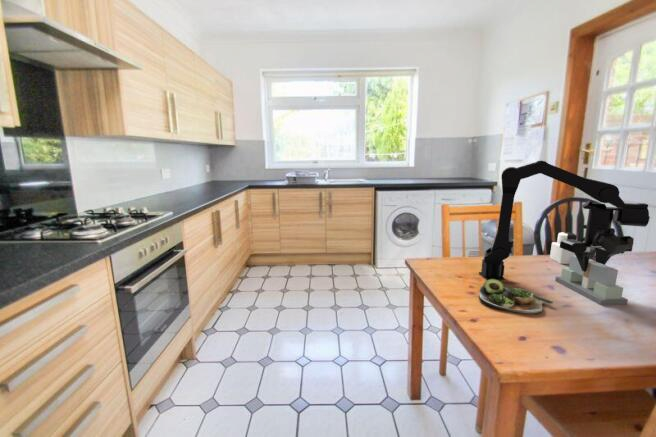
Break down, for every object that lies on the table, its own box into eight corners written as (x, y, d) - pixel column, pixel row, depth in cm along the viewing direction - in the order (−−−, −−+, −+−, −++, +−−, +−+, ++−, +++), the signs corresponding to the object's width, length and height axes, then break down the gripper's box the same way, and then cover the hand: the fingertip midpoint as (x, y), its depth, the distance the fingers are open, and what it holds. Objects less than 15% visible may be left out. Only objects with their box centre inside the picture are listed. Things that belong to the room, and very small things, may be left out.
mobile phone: (588, 243, 136) (577, 249, 127) (597, 244, 134) (586, 250, 125) (587, 254, 137) (575, 260, 128) (595, 256, 135) (584, 262, 126)
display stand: (600, 304, 91) (603, 289, 90) (555, 280, 109) (557, 267, 108) (626, 304, 91) (629, 288, 90) (577, 280, 109) (579, 266, 108)
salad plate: (549, 296, 98) (550, 283, 97) (556, 323, 83) (558, 307, 82) (481, 285, 107) (482, 272, 106) (476, 307, 92) (478, 292, 91)
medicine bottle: (567, 258, 131) (571, 231, 129) (578, 264, 124) (583, 235, 122) (549, 258, 132) (553, 231, 129) (559, 264, 125) (564, 235, 122)
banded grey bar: (605, 286, 92) (608, 270, 91) (568, 269, 106) (570, 255, 105) (615, 285, 92) (618, 270, 91) (577, 268, 106) (579, 255, 105)
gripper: (591, 230, 87) (583, 282, 91) (656, 229, 88) (645, 280, 91) (561, 222, 98) (555, 268, 102) (619, 220, 99) (610, 266, 102)
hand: (591, 271), depth 99 cm, fingers open, 4 cm apart
